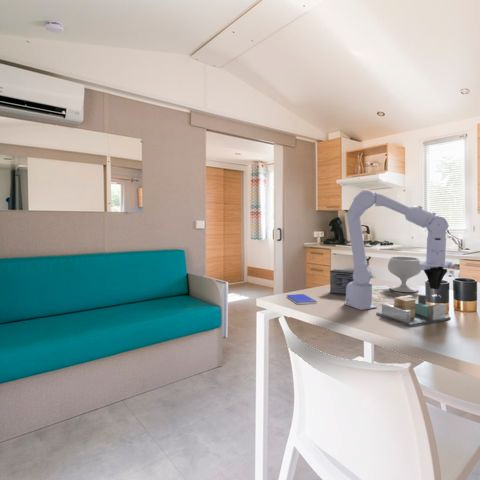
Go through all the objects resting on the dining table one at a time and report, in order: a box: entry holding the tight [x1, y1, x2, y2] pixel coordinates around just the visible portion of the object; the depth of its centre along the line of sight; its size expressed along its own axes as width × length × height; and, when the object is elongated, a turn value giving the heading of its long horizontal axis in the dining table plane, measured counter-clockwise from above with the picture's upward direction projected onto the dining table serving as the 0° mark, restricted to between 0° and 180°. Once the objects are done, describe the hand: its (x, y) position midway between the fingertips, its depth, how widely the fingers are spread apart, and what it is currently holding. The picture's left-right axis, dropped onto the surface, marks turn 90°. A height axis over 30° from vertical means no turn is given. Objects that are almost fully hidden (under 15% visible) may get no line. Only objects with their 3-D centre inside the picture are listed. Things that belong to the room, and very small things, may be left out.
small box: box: [329, 268, 354, 296], centre depth 147 cm, size 11×6×10 cm, turn 58°
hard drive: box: [286, 293, 318, 306], centre depth 136 cm, size 2×8×12 cm
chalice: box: [387, 256, 422, 293], centre depth 152 cm, size 14×14×15 cm
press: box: [376, 294, 452, 328], centre depth 112 cm, size 14×18×5 cm
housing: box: [393, 296, 416, 318], centre depth 111 cm, size 4×4×6 cm
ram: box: [415, 294, 429, 317], centre depth 114 cm, size 10×4×6 cm, turn 22°
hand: (434, 288), depth 116 cm, fingers closed
